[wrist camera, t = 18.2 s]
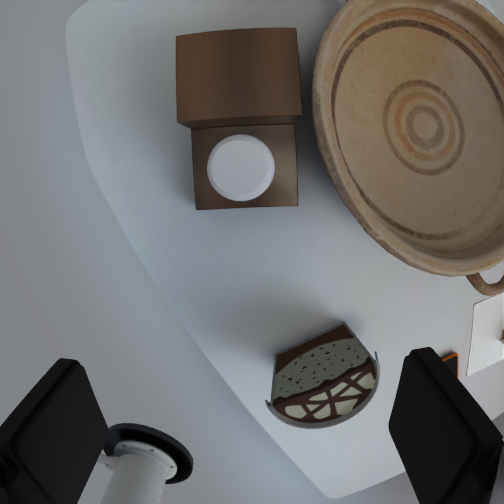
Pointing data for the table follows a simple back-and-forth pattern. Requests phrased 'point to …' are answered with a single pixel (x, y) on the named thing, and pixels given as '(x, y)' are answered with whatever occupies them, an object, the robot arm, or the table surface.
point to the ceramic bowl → (417, 129)
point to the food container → (323, 380)
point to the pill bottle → (240, 167)
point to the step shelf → (241, 104)
